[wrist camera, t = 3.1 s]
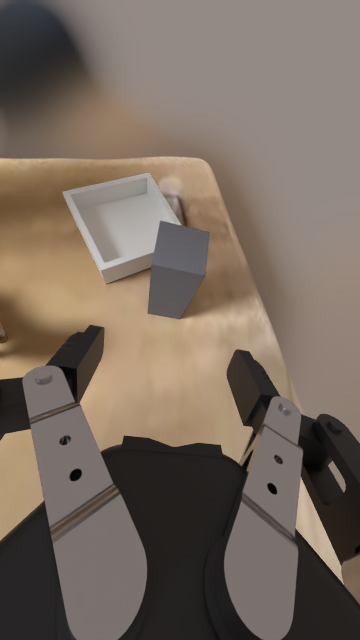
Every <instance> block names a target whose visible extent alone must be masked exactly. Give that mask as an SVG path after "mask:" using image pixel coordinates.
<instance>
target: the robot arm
mask: <svg viewBox="0 0 360 640" xmlns="http://www.w3.org/2000/svg"><path fill="white" fill-rule="evenodd" d="M103 347H104V327H100V326H94V325H90V326H89V327H88V328H87V329H86V331H85V332H84V333H82V332H77V333H75V334H74V335H72V336H70V337H69V338H68V340H67V341H66V342H65V343H64V344H63V345H62V347H61V348H60V349H59V350H58V351H57V353H56V354H55V355H54V356H53V357H52V358H51V360H50V361H49V362H48V363H47V364H46V365H45V366H41V367H37V368H35V369H33V370H31V371H29V372H28V373H27V374H26V375H25V376H24V377H22V378H13V379H2V380H0V440H1V439H2V437H3V436H4V435H5V434H6V433H11V432H16V431H22V430H27V429H31V432H32V437H33V443H34V448H35V454H36V459H37V464H38V470H39V475H40V480H41V486H42V491H43V497H44V501H43V502H42V503H41V504H40V505H39V506H38V507H37V508H36V509H35V510H33V511H32V512H31V513H30V514H29V515H28V516H27V517H26V518H25V519H24V520H23V521H21V522H20V523H19V524H18V525H17V526H16V527H15V528H14V529H13V530H12V531H10V532H9V533H8V534H7V535H6V536H5V537H4V538H3V539H2V540H1V541H0V640H360V443H359V442H358V441H357V440H356V438H355V437H354V436H353V435H352V433H351V432H350V431H349V429H348V428H347V427H346V426H345V425H344V424H343V423H342V422H340V421H339V420H338V419H336V418H334V417H332V416H330V415H327V414H320V415H319V416H318V417H317V419H316V420H315V419H312V418H310V417H307V416H304V415H302V414H301V413H300V411H299V409H298V408H297V407H296V406H295V405H294V404H293V403H292V402H291V401H289V400H287V399H285V398H283V397H281V396H280V395H279V393H278V391H277V390H276V388H275V386H274V385H273V383H272V381H271V380H270V379H269V377H268V375H267V374H266V372H265V370H264V368H263V367H262V366H261V365H260V364H259V363H258V362H257V361H256V360H254V359H253V357H252V355H251V354H250V352H249V351H244V350H236V351H235V352H234V354H233V357H232V359H231V361H230V364H229V366H228V369H227V379H228V382H229V385H230V388H231V391H232V394H233V397H234V400H235V403H236V406H237V408H238V411H239V414H240V417H241V420H242V423H243V426H250V427H252V428H253V431H252V433H251V435H250V437H249V440H248V442H247V445H246V447H245V450H244V452H243V455H242V457H241V460H240V462H239V464H238V463H237V462H236V461H235V460H233V459H232V458H230V457H228V456H226V455H224V454H223V453H222V449H221V445H214V444H204V443H195V444H190V445H184V446H179V447H171V446H169V445H166V444H163V443H161V442H158V441H155V440H153V439H150V438H142V437H132V436H124V438H123V443H122V444H120V445H116V446H112V447H109V448H107V449H105V450H103V451H101V452H100V451H99V448H98V446H97V443H96V441H95V439H94V436H93V434H92V431H91V429H90V427H89V424H88V422H87V419H86V417H85V415H84V412H83V410H82V407H81V405H80V401H81V399H82V397H83V395H84V393H85V391H86V389H87V387H88V385H89V382H90V380H91V378H92V376H93V374H94V372H95V370H96V368H97V366H98V364H99V362H100V360H101V358H102V354H103ZM332 461H333V462H334V463H335V465H336V466H337V468H338V470H339V471H340V473H341V475H342V476H343V478H344V480H345V484H346V490H345V492H344V493H343V491H342V489H341V488H340V486H339V484H338V482H337V481H336V479H335V478H334V475H333V474H332V472H331V471H330V469H329V467H328V465H329V464H330V463H331V462H332ZM300 477H301V478H302V480H303V482H304V484H305V487H306V489H307V491H308V493H309V496H310V498H311V500H312V502H313V504H314V507H315V509H316V511H317V513H318V515H319V518H320V520H321V522H322V524H323V527H324V529H325V531H326V533H327V535H328V538H329V540H330V542H331V544H332V546H333V549H334V551H335V553H336V555H337V558H338V560H339V562H340V564H341V566H342V568H341V572H342V578H343V582H344V585H343V583H342V582H341V581H340V580H339V579H338V578H337V576H336V575H335V574H334V573H333V572H332V571H331V569H330V568H329V567H328V566H327V565H326V564H325V562H324V561H323V560H322V559H321V558H320V556H319V555H318V554H317V553H316V552H315V551H314V549H313V548H312V547H311V546H310V545H309V544H308V542H307V541H306V540H305V539H304V538H303V537H302V535H301V534H300V533H299V532H298V531H297V529H296V528H295V527H296V517H297V507H298V497H299V487H300Z"/></svg>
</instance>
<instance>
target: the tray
mask: <svg viewBox="0 0 360 640" xmlns="http://www.w3.org/2000/svg"><path fill="white" fill-rule="evenodd" d="M62 194H63V196H64V198H65V201H66V203H67V205H68V208H69V210H70V212H71V215H72V217H73V219H74V221H75V223H76V225H77V227H78V229H79V231H80V233H81V235H82V237H83V239H84V241H85V243H86V245H87V247H88V249H89V251H90V253H91V255H92V257H93V259H94V261H95V263H96V265H97V267H98V269H99V271H100V273H101V275H102V278H103V280H104V282H105V284H107V283H110V282H113V281H116V280H118V279H121V278H124V277H126V276H129V275H132V274H134V273H137V272H140V271H142V270H145V269H148V268H150V267H151V265H152V260H153V255H154V249H155V244H156V239H157V234H158V229H159V224H160V221H165V222H169V223H173V224H177V225H181V223H180V222H179V220H178V218H177V217H176V215H175V214H174V212H173V210H172V209H171V207H170V205H169V204H168V202H167V201H166V199H165V197H164V196H163V194H162V192H161V191H160V189H159V187H158V186H157V184H156V183H155V181H154V179H153V178H152V176H151V174H150V173H144V174H140V175H135V176H131V177H126V178H121V179H117V180H112V181H108V182H103V183H99V184H94V185H90V186H85V187H81V188H76V189H72V190H67V191H62ZM181 226H182V225H181Z"/></svg>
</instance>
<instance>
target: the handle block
mask: <svg viewBox="0 0 360 640" xmlns="http://www.w3.org/2000/svg"><path fill="white" fill-rule="evenodd" d="M208 242H209V232H207V231H202V230H198V229H194V228H190V227H186V226H181V225H177V224H173V223H169V222H165V221H160V224H159V229H158V234H157V239H156V244H155V249H154V255H153V260H152V265H151V278H150V291H149V304H148V314H153V315H159V316H164V317H170V318H176V319H180V318H181V316H182V314H183V313H184V311H185V309H186V307H187V306H188V304H189V302H190V301H191V299H192V297H193V296H194V294H195V292H196V291H197V289H198V287H199V285H200V284H201V282H202V280H203V279H204V277H205V274H206V263H207V253H208Z"/></svg>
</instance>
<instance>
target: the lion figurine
mask: <svg viewBox="0 0 360 640" xmlns="http://www.w3.org/2000/svg"><path fill="white" fill-rule="evenodd" d="M6 338H7V336H6V333H4V330H3V327H2V324H1V322H0V343H3V342H4V341H6Z"/></svg>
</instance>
